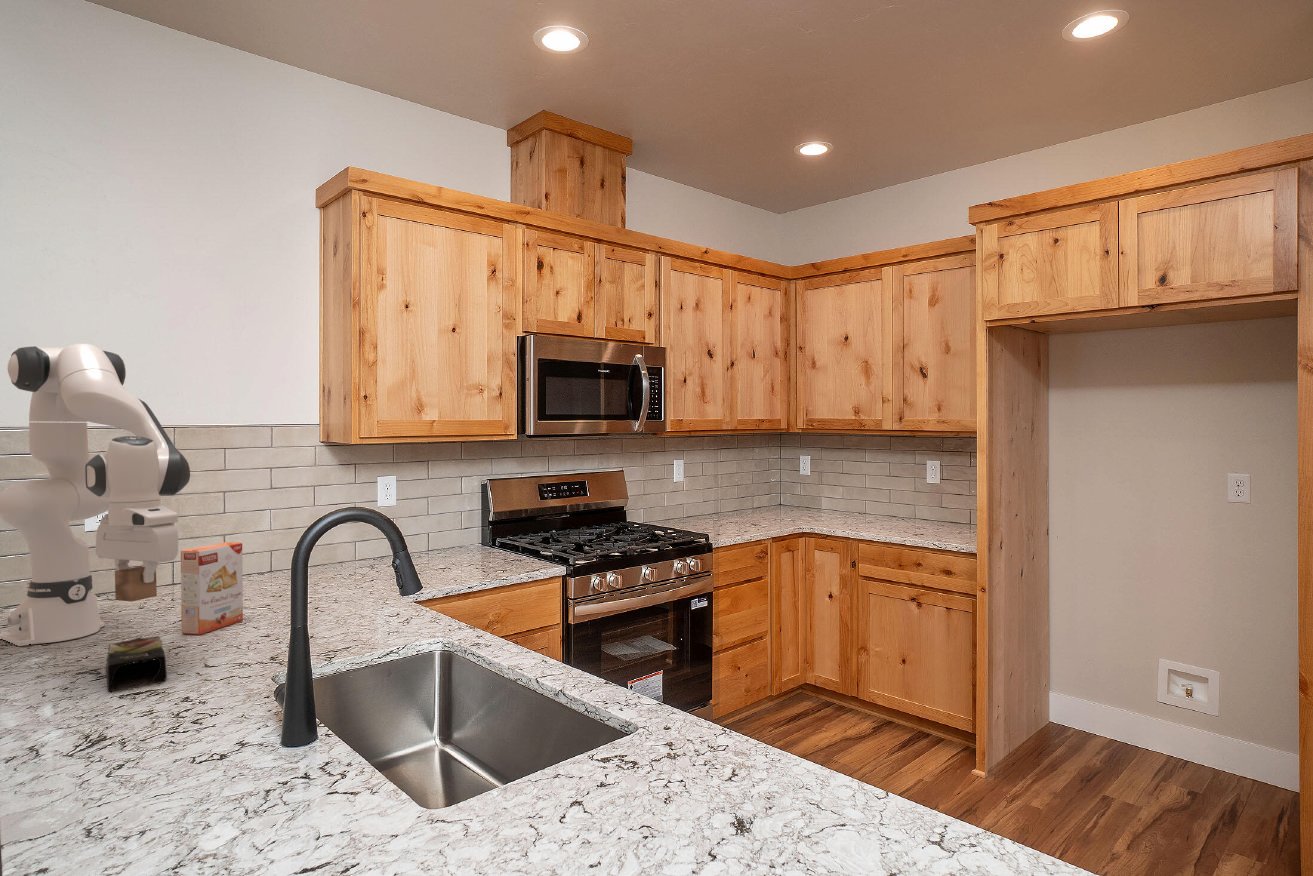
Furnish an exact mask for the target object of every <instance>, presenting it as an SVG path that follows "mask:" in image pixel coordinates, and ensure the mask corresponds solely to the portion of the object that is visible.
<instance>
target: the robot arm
mask: <svg viewBox="0 0 1313 876" xmlns="http://www.w3.org/2000/svg"><path fill="white" fill-rule="evenodd" d="M7 373H8V376H9V379H10V382H11V384H12V385H13V386H14V387H16V388H17V389H18V390H21V391H26V392H31V393H32V394H31V400H30V405H29V413H28V414H29V415H28V422H29V423H28V431H29V432H28V434H29V435H28V436H29V437H28V438H29V439H28V441H29V442H28V443H29V447H28V449H29V453H30V455H31V456H32V458H34V459H35V460H37V461H39V462H41V463H42V464H43V465H44V466H45V467H46V469H47V471H48V473H49V477H50V478H45V479H32V480H27V481H22V482H20V483H15V484H13V485H9V486H7V487H5V489H3V490H2V491H1V493H0V517H1V518H2V520H3V521H4V522H6V523H7V524H9V525H11V526H13V528H16V530H17V531H18V532H19V533H20V534H21V536H23V538H24V540H25V542H26V544H27V546H28V547H27V548H28V551H29V556H30V567H31V581H30V582H28V583H26V588H27V594H26V597H27V598H25V599H24V600H23V601H22V602H21V603H20V604H19V605H18V606H17V607H16V608H15V609H13V610H12V611H11V613H10V615H9V616H8V617H7V625H8V626H9V630H4V631H2V632H0V638H1V639H3V640H6V641H8V642H10V643H9V644H11V643H13V644H12V645H14V644H15V645H14V646H16V645H17V647H23V646H30V645H29V644H31V645H37V644H38V645H39V644H47V643H56V642H63V641H70V640H74V639H79V638H83V637H86V636H90V635H93V634H95V633H97V632H99V631H100V630H101V628H103V627H104V626H106V624H105V621H102V620H101V617H100V610H99V601H98V596H97V595H96V594H94V593H93V592H92V590H93V589H94V587H93V584H94V582H93V581H94V580H93V575H91V574H90V573H91V571H90V570H91V569H90V568H91V567H90V547H89V545H88V543H87V542H86V541H84V540H83V539H81V538H78V537H76V536H75V534H74V533H73V532H72V529H71V526H70V522H73V521H75V522H76V521H80V520H87V519H90V518H94V517H97V516H99V515H102V514H103V515H104V516H103V517H102V518H101V519H100V521H99V523H100V524H99V525H98V527H97V529H96V536H95V537H96V538H95V554H96V556H97V558H98V559H107V560H108V559H109V560H114V566H115V568H116V570H122V569H128V568H130V567H129V563H130V561H133V562H135V561H136V562H137V561H139V562H142V567H145V569H144V572H143V574H140V578H141V580H140V581H141V582H142V583H149V582H153V581H154V572H155V570H156V571H157V568H158V566H159V563H164V562H171V561H174V560H176V558H177V556H178V554H179V532H178V527H177V525H175V523H177V522H178V520H179V516H178V515H179V514H178V513H177V512H176V511H175V510H172V509H170V508H168V507H166V506H165V505H163V504H161V496H174V495H177V494H178V493H179V492H180V491H181V490H184V488H185V487H186V486H187V485H188V483H189V482H190V479H191V469H190V465H189V462H188V460H187V459H186V457H185V456H184V455H183V454H182V453H181V452H180V451H179V450H178V449H177V447H176V446H175V445H174V443H173V441H172V440H171V439H170V436H169V435H168V433H167V432H166V431H165V429H164V428H163V425H161V423H160V421H159V420H158V418H157V417H156V415H155V414H154V412H153V411H152V409H151V407H150V406H149V405H148V404H147V403H146V402H145V401H143V400H141V399H139V398H138V397H136V396H135V395H134V394H132V393H131V392H130V391H129V390H127V389H126V388H125V386H124V384H125V380H126V377H127V370H126V365H125V361H124V360H123V359H122V357H121V356H120V355H119V354H117V353H114V352H111V351H107V350H103V349H101V348H100V347H98V346H96V345H94V344H90V343H83V342H82V343H73V344H71V345H68V346H66V347H37V346H25V347H24V346H23V347H19V348H17V349H16V350H14V351H13V352H12V354H11V356H10V358H9V359H8V363H7ZM88 422H89V423H93V424H98V425H99V424H100V425H105V426H111V427H114V428H118V429H122V430H125V431H127V432H130V433H131V434H133V436H131V435H130V436H129V435H125V436H118V437H115V438H112V439H110V441H109V444H108V448H107V450H106V451H104V452H103V453H101V454H96V455H95V456H93V457H92V458H91V456H90V452H89V443H88V442H89V441H88ZM106 512H107V514H106ZM104 513H105V514H104ZM27 585H29V586H27ZM3 640H2V641H3ZM6 641H5V642H6ZM8 642H7V643H8Z"/></svg>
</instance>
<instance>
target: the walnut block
mask: <svg viewBox="0 0 1313 876" xmlns="http://www.w3.org/2000/svg"><path fill="white" fill-rule="evenodd" d="M144 569H145V566H143V565H141V566H134V567H129V568H128V569H122V570H117V569H116V570H114V592H115V593H114V595H115V597H114V598H115V601H120V602H121V601H122V602H131V603H132V602H136V601H140V600H145V599H149V598H150V599H151V598H153V597H157V595H158V593H157V591H158V589H157V569H156V570H155V572H154V581H153V582H149V583H142V582H141V581H140V580H141V578H140V574H143V572H144Z"/></svg>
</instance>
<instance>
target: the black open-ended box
mask: <svg viewBox="0 0 1313 876" xmlns="http://www.w3.org/2000/svg"><path fill="white" fill-rule="evenodd" d="M107 650H108V651H107V655H106V662H105V663H106V664H105V676H106V677H105V678H106V684H107V685H106V686H107V692H108V693H109V692H111V693H113V692H112V691H113V690H112V689H111V688H112V684H113V680H114V677H115V676H114V675H115V673H116V672H117V670H118V669H119V668H120V667H123V666H126V665H125V664H128V665H130V664H129V663H133V662H141V663H143V662H147V661H149V662H152V661H151V660H153V659H157V660H158V662H159V664H160V666H159V668H158V672H156V675H154V677H153V678H152V682H158V681H159V682H165V680H166V679H167V677H168V675H167V674H168V673H167V660H166V653H165V649H164V648H163V641H162V639H161V636H158V635H157V636H148V637H145V638H144V637H143V638H142V637H136V638H133V639H129V640H124V641H120V642H116V643H109V644H108V648H107ZM133 664H134V663H133ZM122 665H123V666H122Z"/></svg>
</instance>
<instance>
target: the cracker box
mask: <svg viewBox="0 0 1313 876" xmlns="http://www.w3.org/2000/svg"><path fill="white" fill-rule="evenodd" d="M243 585H244V583H243V542H238V541H237V542H235V541H234V542H233V541H231V542H227V541H226V542H219V543H214V544H208V545H202V546H198V547H193V548H187V549H186V548H185V549H182V550H180V592H181V593H180V596H181V597H180V600H181V601H180V604H181V606H180V607H181V610H180V612H181V613H180V615H181V623H180V624H181V634H183V635H184V634H185V635H186V634H187V635H199V636H201V635H203V634H206V633H209V632H212V631H215V630H218V629H221V628H224V627H228V626H230V625H233V624H236V623H239V622H243V619H244V616H243V615H244V612H243V611H244V610H243V608H244V607H243V603H244V601H243V598H244V596H243V595H244V593H243Z"/></svg>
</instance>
